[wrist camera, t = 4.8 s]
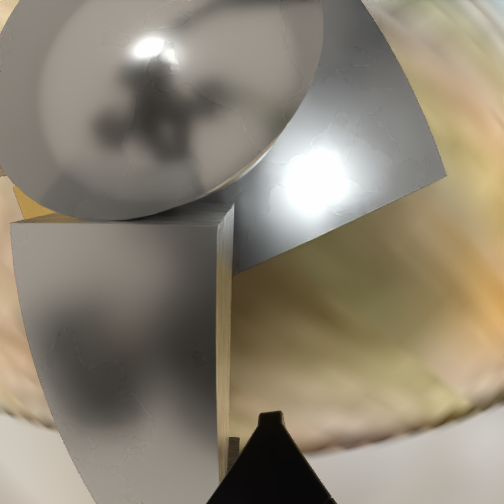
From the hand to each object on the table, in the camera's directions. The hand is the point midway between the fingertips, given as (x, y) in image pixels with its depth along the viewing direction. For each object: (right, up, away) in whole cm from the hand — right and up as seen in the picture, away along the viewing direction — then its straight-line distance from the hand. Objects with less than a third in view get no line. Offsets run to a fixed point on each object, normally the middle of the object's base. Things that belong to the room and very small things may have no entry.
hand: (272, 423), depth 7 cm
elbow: (-3, +4, +2) cm, 5 cm away
